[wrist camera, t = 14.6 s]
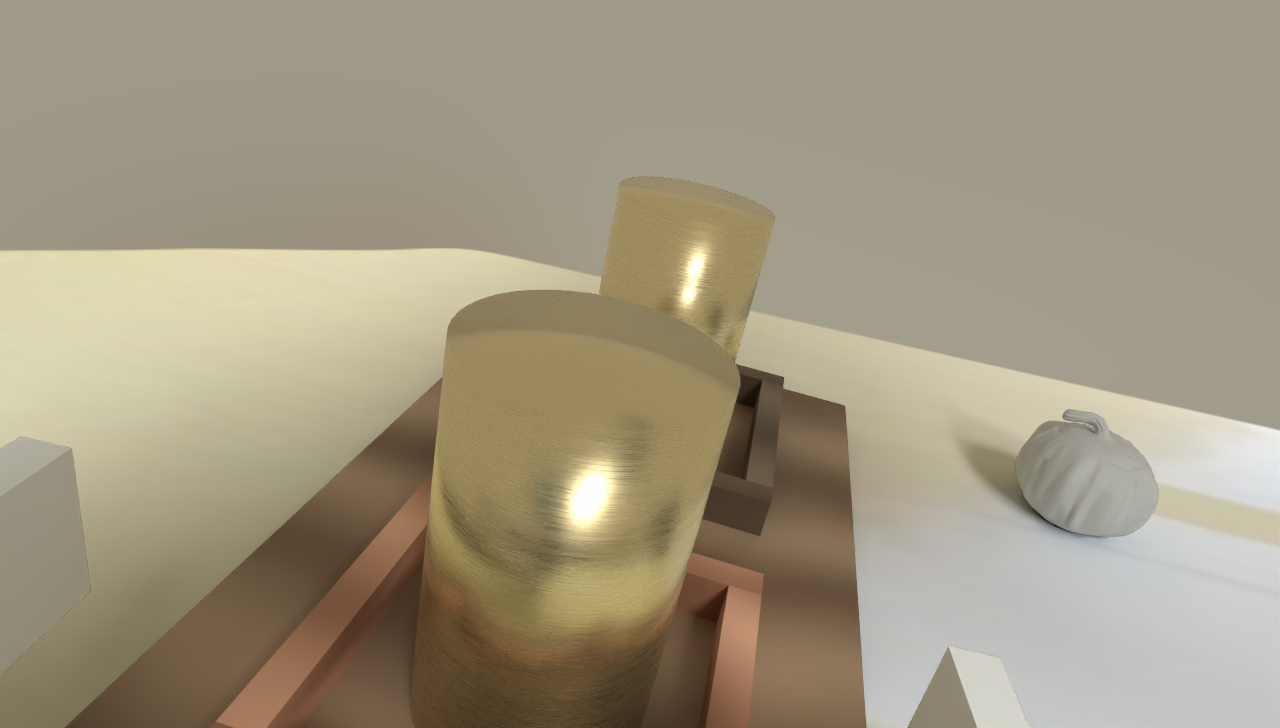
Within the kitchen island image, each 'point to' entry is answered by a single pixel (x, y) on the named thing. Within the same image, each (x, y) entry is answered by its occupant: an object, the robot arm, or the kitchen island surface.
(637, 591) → the brass billet
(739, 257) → the cylinder
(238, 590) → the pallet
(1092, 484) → the garlic
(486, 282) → the kitchen island surface
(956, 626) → the kitchen island surface
